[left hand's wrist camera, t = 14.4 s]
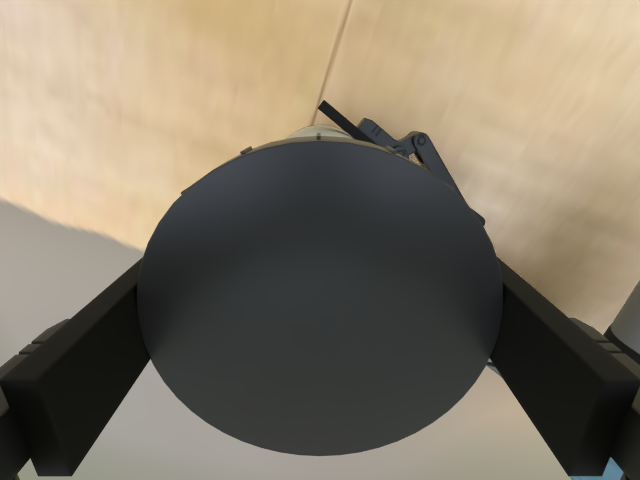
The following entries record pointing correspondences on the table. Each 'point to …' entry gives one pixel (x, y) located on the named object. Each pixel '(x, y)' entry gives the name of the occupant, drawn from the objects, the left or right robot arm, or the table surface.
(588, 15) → the table surface
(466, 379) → the lid
